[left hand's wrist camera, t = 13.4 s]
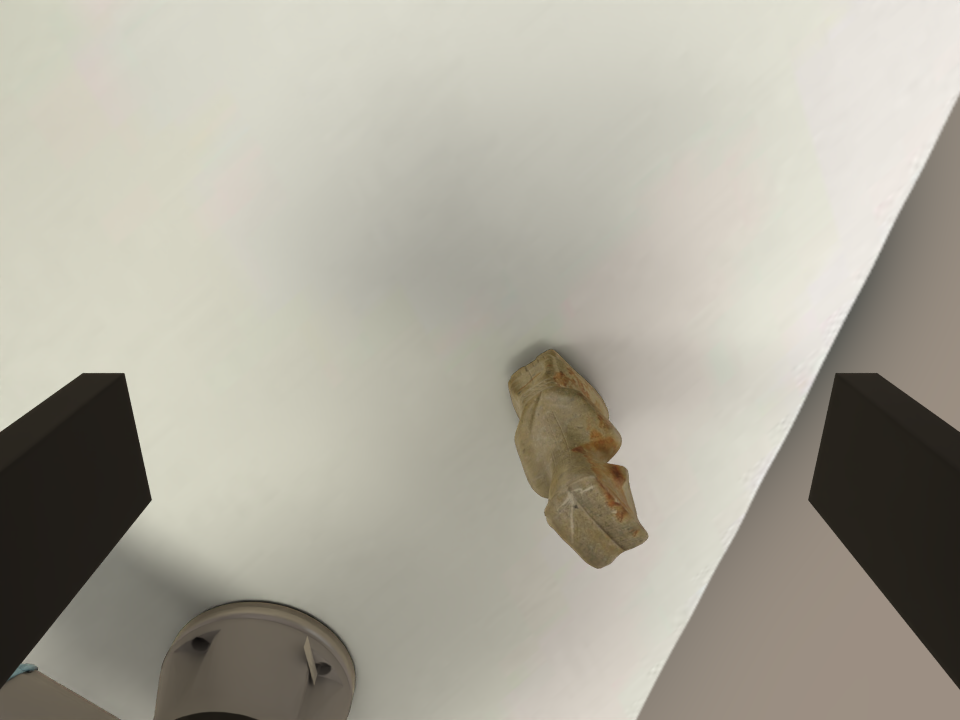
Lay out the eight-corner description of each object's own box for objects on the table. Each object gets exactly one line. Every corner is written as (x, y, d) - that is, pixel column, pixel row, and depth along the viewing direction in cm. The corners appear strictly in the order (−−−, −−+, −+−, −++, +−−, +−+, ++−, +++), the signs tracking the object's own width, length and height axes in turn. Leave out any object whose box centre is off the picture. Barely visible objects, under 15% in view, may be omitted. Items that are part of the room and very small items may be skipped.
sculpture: (547, 448, 47) (575, 597, 33) (489, 371, 45) (494, 496, 31) (618, 406, 46) (678, 542, 32) (563, 324, 44) (601, 433, 30)
